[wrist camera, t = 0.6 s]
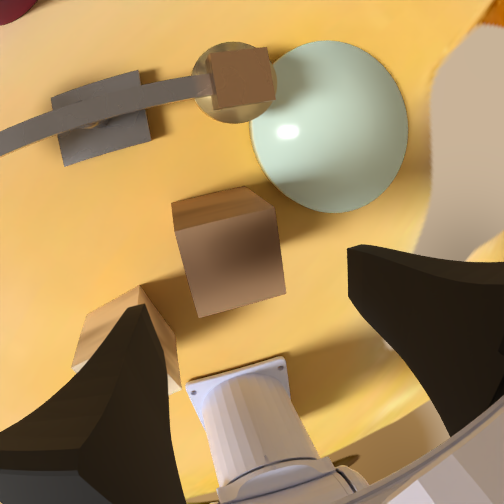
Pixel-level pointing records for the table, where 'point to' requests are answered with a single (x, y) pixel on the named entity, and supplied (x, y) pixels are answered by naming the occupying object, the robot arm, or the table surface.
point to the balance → (150, 103)
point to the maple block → (105, 320)
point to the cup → (13, 9)
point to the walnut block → (229, 249)
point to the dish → (331, 128)
